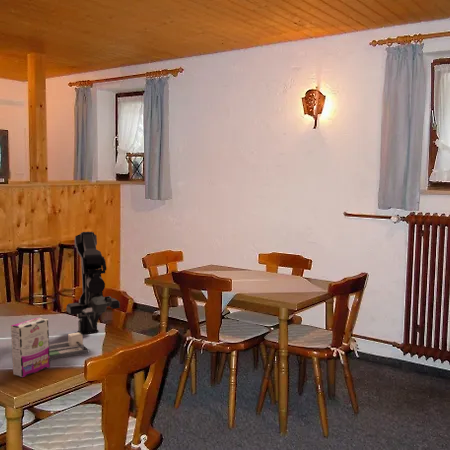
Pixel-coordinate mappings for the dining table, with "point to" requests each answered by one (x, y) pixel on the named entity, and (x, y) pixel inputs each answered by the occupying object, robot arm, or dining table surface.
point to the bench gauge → (65, 350)
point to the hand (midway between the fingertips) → (93, 328)
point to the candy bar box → (30, 346)
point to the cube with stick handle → (75, 339)
